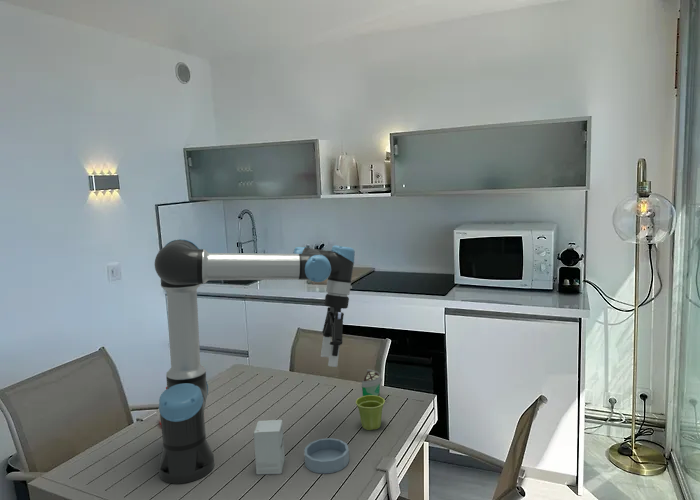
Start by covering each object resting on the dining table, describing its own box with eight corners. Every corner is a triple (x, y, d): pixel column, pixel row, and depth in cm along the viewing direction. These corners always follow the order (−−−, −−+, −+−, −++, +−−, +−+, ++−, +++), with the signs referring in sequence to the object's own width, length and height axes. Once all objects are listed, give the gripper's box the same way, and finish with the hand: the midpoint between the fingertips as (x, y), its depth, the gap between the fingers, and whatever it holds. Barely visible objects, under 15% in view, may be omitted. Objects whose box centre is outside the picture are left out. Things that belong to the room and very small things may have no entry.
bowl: (305, 476, 141) (304, 463, 141) (304, 451, 154) (303, 440, 153) (351, 470, 143) (351, 458, 142) (346, 447, 155) (345, 436, 155)
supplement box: (282, 474, 143) (279, 431, 141) (255, 475, 143) (252, 432, 141) (285, 459, 150) (283, 419, 148) (260, 460, 150) (257, 419, 148)
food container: (379, 409, 179) (378, 382, 178) (362, 408, 181) (361, 381, 179) (384, 394, 191) (383, 369, 190) (368, 394, 193) (367, 368, 191)
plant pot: (376, 435, 161) (375, 409, 160) (351, 429, 166) (350, 403, 165) (390, 423, 169) (389, 398, 168) (366, 417, 174) (365, 393, 173)
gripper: (358, 300, 151) (348, 371, 151) (341, 292, 176) (332, 354, 175) (333, 297, 150) (323, 369, 149) (319, 290, 174) (311, 352, 173)
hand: (328, 361), depth 162 cm, fingers open, 13 cm apart
